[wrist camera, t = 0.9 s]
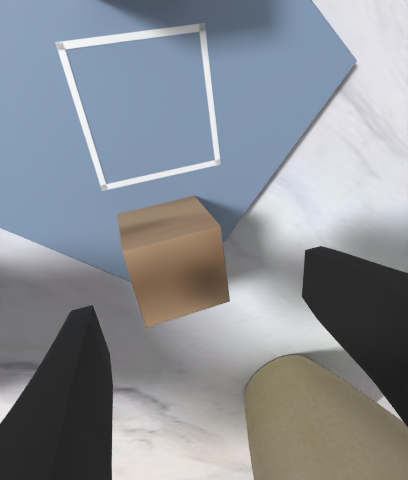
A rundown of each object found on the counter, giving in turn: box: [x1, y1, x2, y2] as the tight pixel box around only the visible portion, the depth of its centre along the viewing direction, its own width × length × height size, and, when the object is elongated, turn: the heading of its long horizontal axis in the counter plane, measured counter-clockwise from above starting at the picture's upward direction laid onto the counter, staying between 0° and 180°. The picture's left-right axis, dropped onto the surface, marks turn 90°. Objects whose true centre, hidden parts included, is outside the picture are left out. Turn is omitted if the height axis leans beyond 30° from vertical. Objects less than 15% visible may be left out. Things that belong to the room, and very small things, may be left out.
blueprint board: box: [0, 0, 357, 282], centre depth 16 cm, size 18×16×1 cm
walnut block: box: [117, 196, 230, 328], centre depth 17 cm, size 4×4×4 cm
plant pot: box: [245, 355, 408, 480], centre depth 23 cm, size 15×15×16 cm
